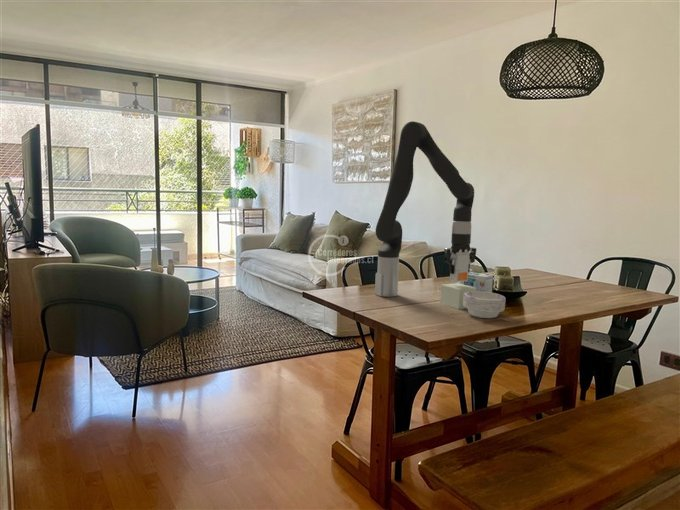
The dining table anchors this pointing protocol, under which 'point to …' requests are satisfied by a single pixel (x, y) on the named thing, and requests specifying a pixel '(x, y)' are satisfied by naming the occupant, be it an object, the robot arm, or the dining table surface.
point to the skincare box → (460, 267)
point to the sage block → (454, 294)
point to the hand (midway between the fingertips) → (459, 273)
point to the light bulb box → (480, 281)
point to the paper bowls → (484, 304)
